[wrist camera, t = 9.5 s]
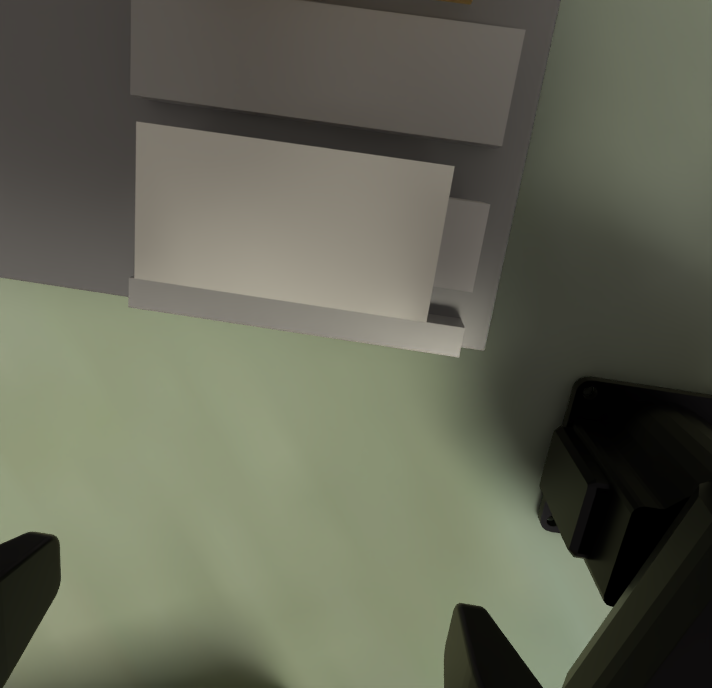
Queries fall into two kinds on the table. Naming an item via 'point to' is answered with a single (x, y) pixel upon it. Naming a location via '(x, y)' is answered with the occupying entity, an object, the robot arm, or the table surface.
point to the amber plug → (459, 1)
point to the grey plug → (300, 222)
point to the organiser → (260, 129)
